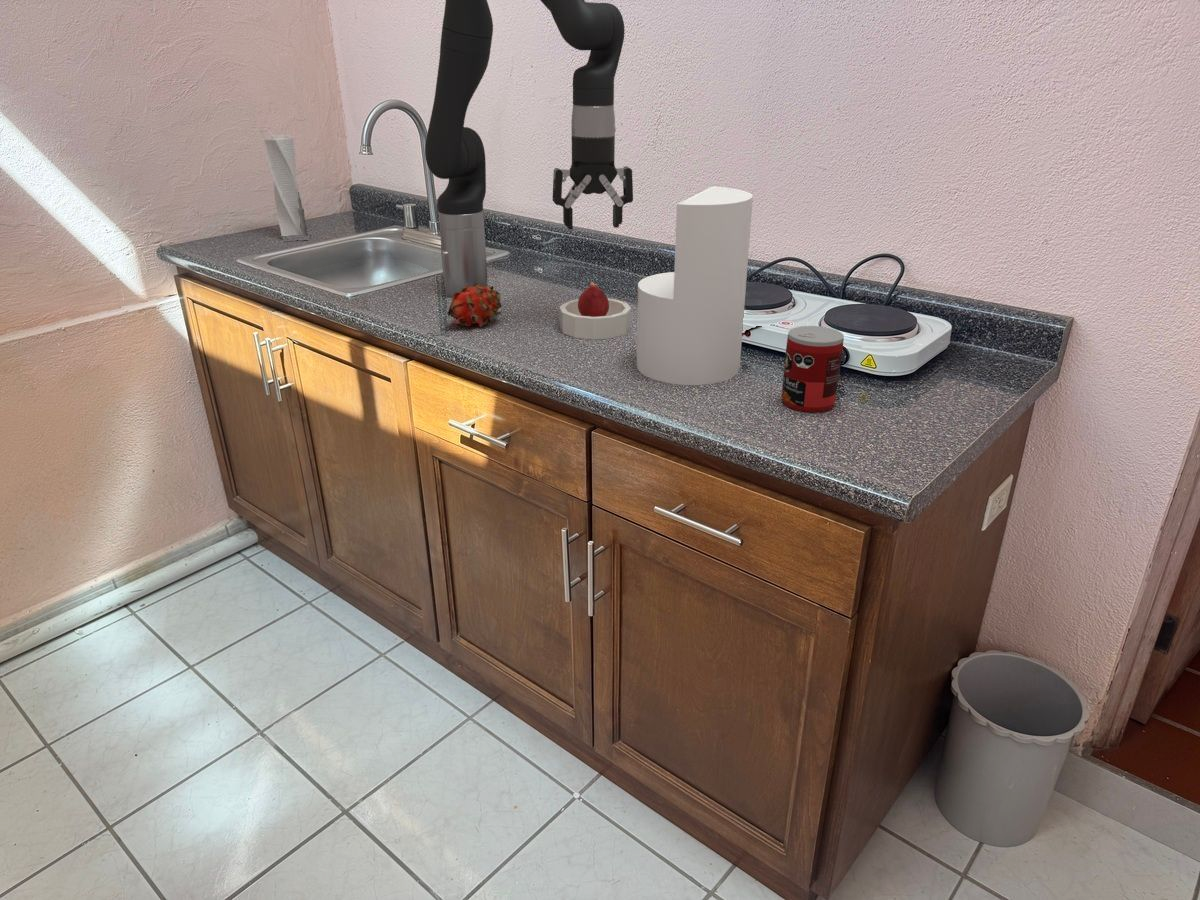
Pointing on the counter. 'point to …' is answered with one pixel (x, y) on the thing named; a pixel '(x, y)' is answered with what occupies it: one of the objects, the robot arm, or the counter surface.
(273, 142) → the skyscraper
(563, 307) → the ramekin
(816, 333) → the canned food
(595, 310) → the onion
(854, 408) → the counter surface
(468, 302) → the dragon fruit
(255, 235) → the counter surface
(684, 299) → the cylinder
